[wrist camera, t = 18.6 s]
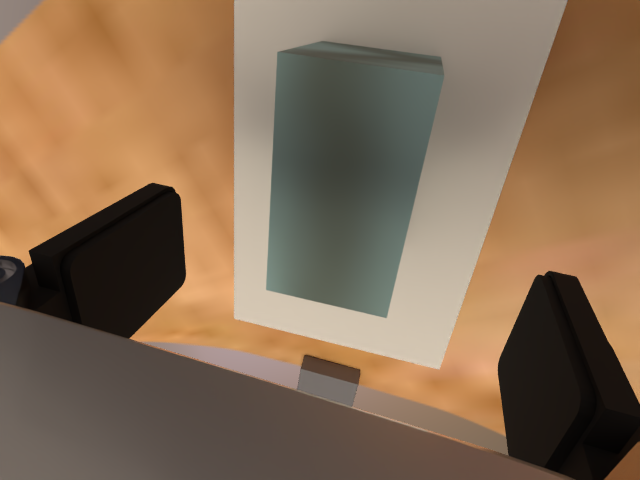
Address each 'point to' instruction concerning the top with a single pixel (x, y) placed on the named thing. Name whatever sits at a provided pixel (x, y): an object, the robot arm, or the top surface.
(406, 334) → the board
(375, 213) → the block
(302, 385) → the chip
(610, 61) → the top surface
